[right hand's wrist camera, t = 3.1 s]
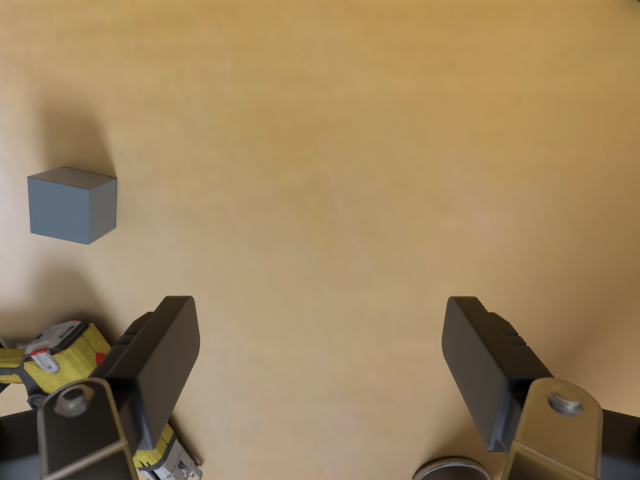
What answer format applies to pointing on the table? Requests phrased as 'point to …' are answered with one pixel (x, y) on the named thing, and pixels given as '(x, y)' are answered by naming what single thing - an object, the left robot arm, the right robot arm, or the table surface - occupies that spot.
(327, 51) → the table surface
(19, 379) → the toy gun
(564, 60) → the table surface
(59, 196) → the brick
